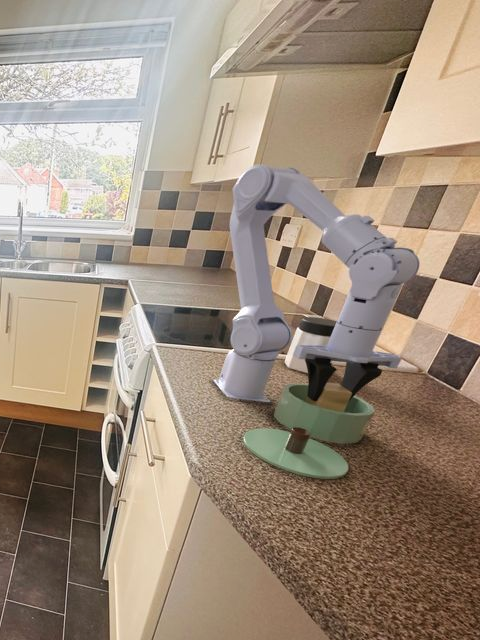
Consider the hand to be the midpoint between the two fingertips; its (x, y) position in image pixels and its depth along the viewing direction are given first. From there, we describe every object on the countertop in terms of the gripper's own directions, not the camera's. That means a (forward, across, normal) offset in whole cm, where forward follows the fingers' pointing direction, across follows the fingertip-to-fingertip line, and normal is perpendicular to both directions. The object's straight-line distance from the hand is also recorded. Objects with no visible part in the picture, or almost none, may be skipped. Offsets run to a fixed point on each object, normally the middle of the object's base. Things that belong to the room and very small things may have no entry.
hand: (326, 400), depth 73 cm
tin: (+6, 0, 0) cm, 6 cm away
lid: (+5, -9, -12) cm, 16 cm away
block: (+1, 0, 0) cm, 1 cm away
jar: (+6, +14, +34) cm, 37 cm away
